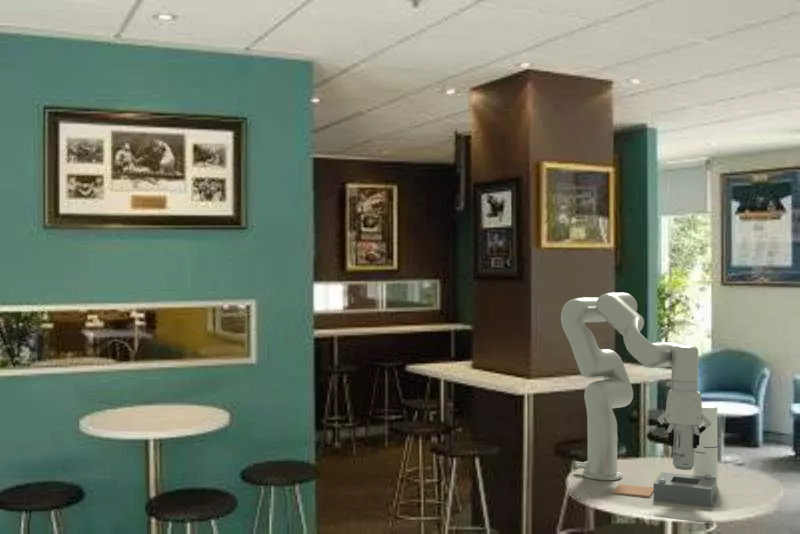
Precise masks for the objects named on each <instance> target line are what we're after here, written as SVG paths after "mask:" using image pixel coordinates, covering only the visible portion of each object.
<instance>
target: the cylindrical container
mask: <svg viewBox="0 0 800 534" xmlns="http://www.w3.org/2000/svg"><path fill="white" fill-rule="evenodd" d="M702 413H703V414H704V415H705V416H706V417H707V418H708V419H709V421H710V422H711V423H712V424H711V425H710V426H709V427H708V428H707V429H705V430H704V431H703V432H702V433H701V434H700V438H699V446H698V445H697V448H696V449H695V448H694V466H693V475H695V476H705V474H710V475H712V477H716V487H717V488H718V485H719V484H718V481H719V480H718V476H719V475H718V406H716V405H712V404H702ZM704 424H705V422H704V421H703V420H702V422H701V424H700V425H699V428H701V427H702V426H703V425H704ZM694 434H695V431H694Z"/></svg>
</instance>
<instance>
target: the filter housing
mask: <svg viewBox="0 0 800 534" xmlns="http://www.w3.org/2000/svg"><path fill="white" fill-rule="evenodd" d="M653 488H654V492H653V501H654V500H655V502H663V501H665V502H666V503H674V504H683V505H692V506H702V507H709V508H710V507H711V508H712V506H713V504H714V501H715V498H716V496H717V488H716V477H712V475H710V474H705V476H695V475H694V474H685V473H684V474H683V473H672V472H660V473H659V475H658V477H657V478H656V480H654V482H653Z"/></svg>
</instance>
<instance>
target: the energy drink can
mask: <svg viewBox="0 0 800 534" xmlns="http://www.w3.org/2000/svg"><path fill="white" fill-rule="evenodd" d="M672 465H673V466H674V468H675V469H677V470H682V471H690V470H692V469H693V468H694V428H693V426H688V425H685V424H677V425H675V424H674V427H673V446H672Z"/></svg>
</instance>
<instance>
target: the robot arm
mask: <svg viewBox="0 0 800 534" xmlns="http://www.w3.org/2000/svg"><path fill="white" fill-rule="evenodd" d="M637 311H638V303H637V300H636V299H635V298H634V296H633V295H631V294H630V293H627V292H607V293H604V294H602V295H600V296H599V297H576V298H573V299H570V300H568V301H566V302H565V303H564V305H563V307H562V309H561V313H560V322H561V326H562V328H563V329H562V330H563V331H564V334H565V336H566V338H567V340H568V342H569V344H570V347H571V350H572V353H573V356H574V359H575V362H576V364H577V366H578V370H579V372H580V374H581V376H582V377H584V378H586V379H600V378H601V379H602V380H595V381H592V382H591V383H589V384H588V385H587V386H586V387H585V390H584V404H585V408H586V416H587V419H586V420H587V460H586V461H584V462H582V461H575V462H574V467H575V468H576V469H583V471H582V476H583V477H584V478H588V479H591V480H595V481H596V480H597V481H616V480H620V479H622V477H623V473H622V472H621V471H618V423H617V418H616V415H615V413H614V409H619V408H623V407H628V406H629V405H630V404H632V403H631V402H632V401H633V398H634V389H633V386H632V384H631V381H630V377H629V376H628V372H627V370H626V367H625V365H624V362H623V360H622V358H621V356H620V354H618V353H617V352H616V351H614V350H612V349H608V348H606V349H605V348H603V349H602V348H600V347H599V345H598V343H597V340H596V336H595V335H594V334H593V332H592V331H591V329H589V327H587V325H586V323H603V322H604V323H605V322H608V323H609V324H610V325H611V326H612V328H614V329H615V330H616V331H617V332H618V333H619V334H620V335H622V337H623V343H624V345H625V348H626V350H627V352H628V353H629V354H630V355H631V356H632V357H633V358H634V359H635V360H636V361H637V362H638V363H639V364H641V365H643V366H644V367H646V368H650V369H654V368H655V369H656V368H657V369H658V368H671V379H670V380H669V381H666V385H665V386H666V387H670V389H669V390H668V392H667V396H666V397H667V398H666V405H665V406H666V407H665V411H664V412H662V414H660V416H659V417H657V419H656V421H657V422H659V424H660V425H662V427H663V428H664V429H665V430H666V431H667V433H668V434H667V436H668V438H667V442H668V443H669V444H670V445H669V446H670V447H673V427H674V424H675V425H677V424H685V425H688V426H693V428H694V431H695V434H694V448H695V449H696V448H697V445H698V446H699V438H700V434H701V433H702V432H703V431H704V430H705V429H707V428H708V427H709V426H710V425H711V424H712V423H711V422H710V421H709V419H708V418H707V417H706V416H705V415H704V414H703V413H702V405H703V404H702V395H701V392H700V391H699V382H698V381H699V348H698V347H696V346H694V345H691V344H690V345H689V344H679V343H676V342H671V341H670V342H667V341H666V342H665V341H664V342H651V341H649V339H647V338H646V337H645V335H643V334H642V333H641V331H642V329H643V328H644V324H645V320H644V317H643V316H642V315H641V314H639V313H638V312H637ZM702 420H703V421H704V422H705V424H704V425H703V426H702V427H701V428H699V425H700V424H701V422H702Z"/></svg>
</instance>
